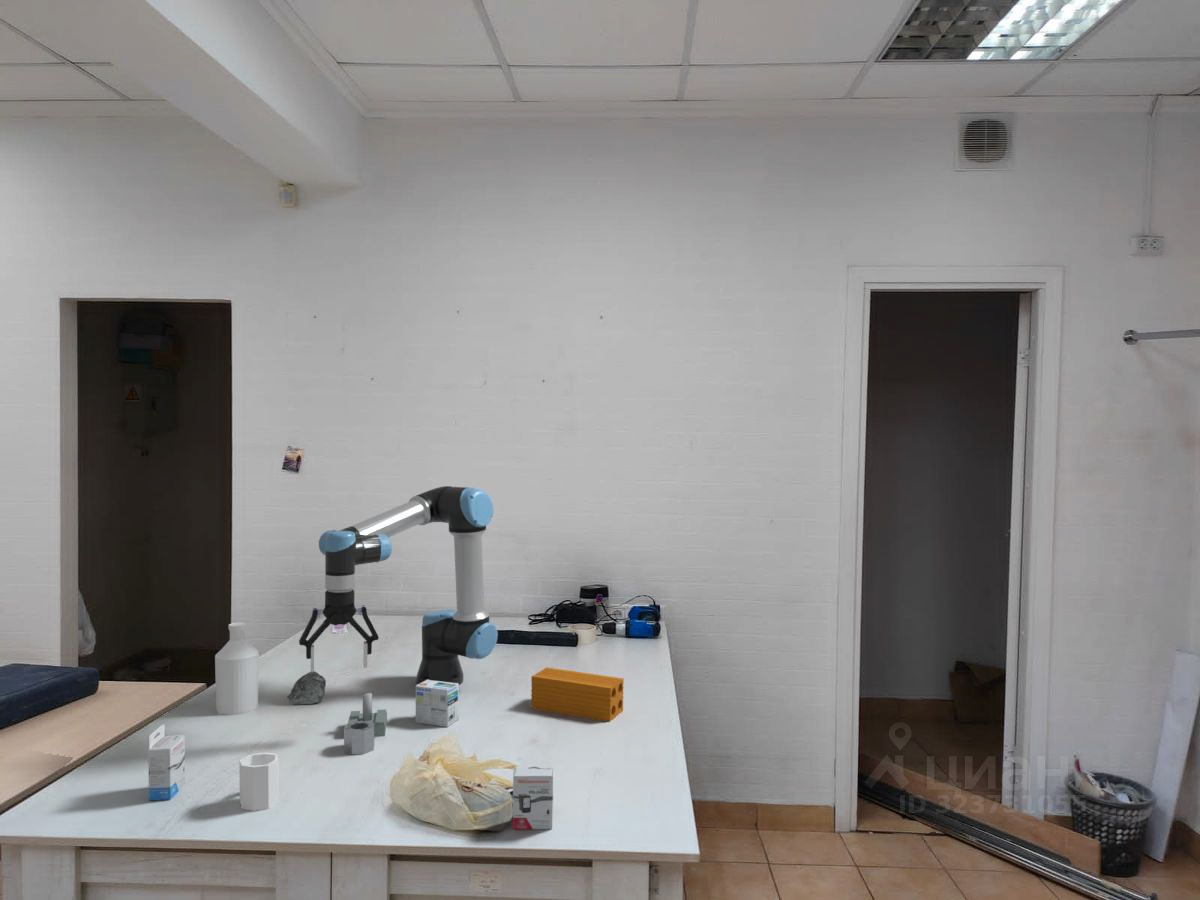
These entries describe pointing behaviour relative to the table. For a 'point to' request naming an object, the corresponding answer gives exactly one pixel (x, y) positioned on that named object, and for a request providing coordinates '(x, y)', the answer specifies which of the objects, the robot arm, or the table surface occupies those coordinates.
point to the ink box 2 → (532, 797)
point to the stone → (308, 689)
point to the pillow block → (370, 716)
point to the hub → (359, 737)
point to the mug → (259, 781)
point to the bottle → (236, 674)
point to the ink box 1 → (165, 764)
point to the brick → (577, 694)
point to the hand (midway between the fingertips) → (339, 668)
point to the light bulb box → (437, 703)
